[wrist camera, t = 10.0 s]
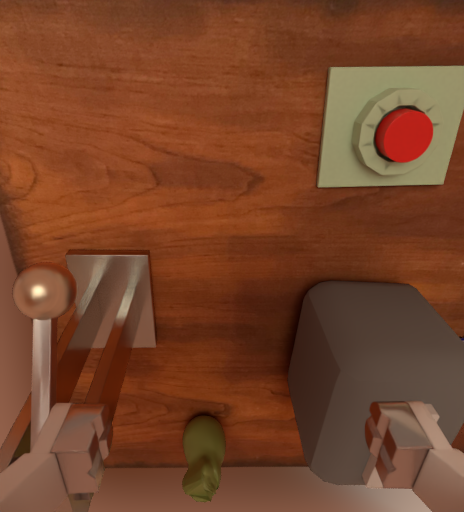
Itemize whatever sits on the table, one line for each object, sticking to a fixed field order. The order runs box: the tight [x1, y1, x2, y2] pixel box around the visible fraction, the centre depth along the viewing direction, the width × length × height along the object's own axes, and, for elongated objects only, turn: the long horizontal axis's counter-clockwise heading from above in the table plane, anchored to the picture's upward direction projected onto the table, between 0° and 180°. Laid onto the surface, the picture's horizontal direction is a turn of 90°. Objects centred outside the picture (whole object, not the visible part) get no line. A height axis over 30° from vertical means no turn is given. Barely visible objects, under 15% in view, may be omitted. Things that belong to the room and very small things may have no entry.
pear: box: [182, 416, 226, 502], centre depth 46 cm, size 6×5×10 cm
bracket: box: [0, 250, 157, 512], centre depth 30 cm, size 12×8×22 cm, turn 178°
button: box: [375, 109, 433, 163], centre depth 30 cm, size 4×4×2 cm
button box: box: [316, 66, 464, 187], centre depth 32 cm, size 12×10×2 cm
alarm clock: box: [288, 281, 464, 488], centre depth 37 cm, size 16×11×16 cm
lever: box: [12, 262, 77, 451], centre depth 23 cm, size 15×4×4 cm, turn 178°
